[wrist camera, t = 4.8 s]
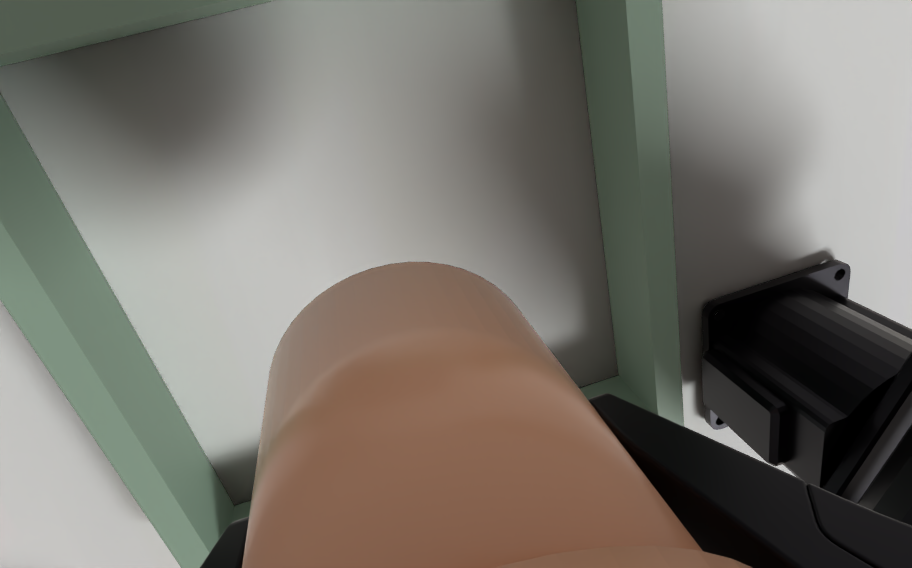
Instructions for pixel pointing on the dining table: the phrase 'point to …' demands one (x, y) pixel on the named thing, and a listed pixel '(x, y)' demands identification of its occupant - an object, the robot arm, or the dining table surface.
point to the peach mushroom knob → (442, 442)
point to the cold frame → (125, 358)
